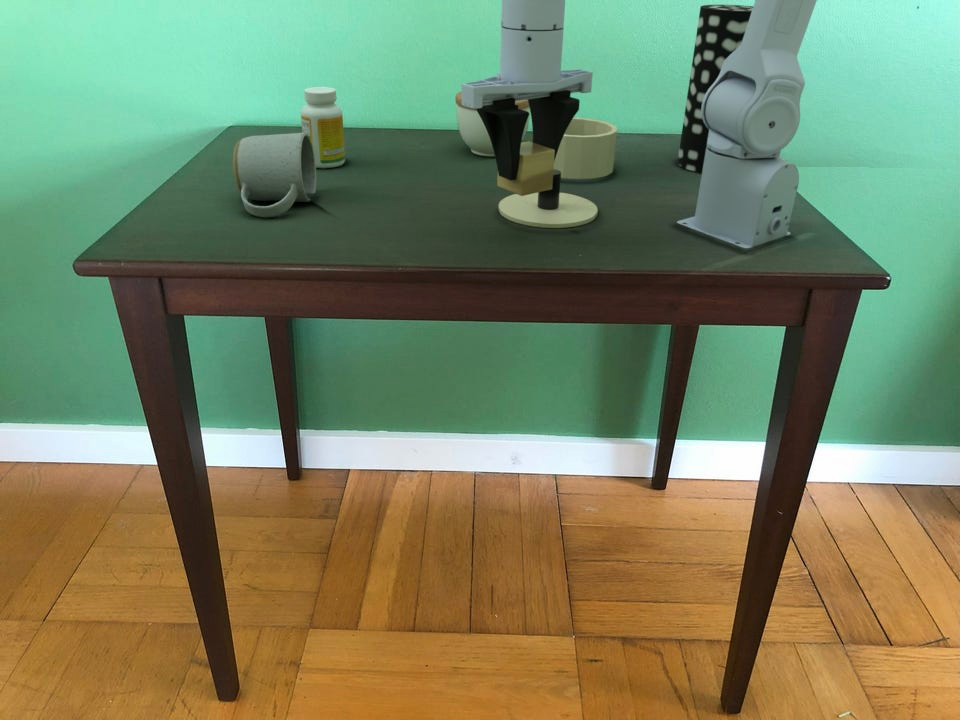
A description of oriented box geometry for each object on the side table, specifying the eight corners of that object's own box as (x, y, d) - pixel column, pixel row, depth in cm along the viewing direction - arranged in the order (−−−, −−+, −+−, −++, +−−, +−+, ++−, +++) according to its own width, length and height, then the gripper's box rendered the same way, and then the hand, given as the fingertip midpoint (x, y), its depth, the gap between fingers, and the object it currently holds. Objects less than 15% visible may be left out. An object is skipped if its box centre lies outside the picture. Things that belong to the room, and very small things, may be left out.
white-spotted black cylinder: (716, 177, 102) (745, 13, 92) (665, 163, 107) (687, 6, 97) (750, 166, 107) (781, 9, 97) (700, 154, 112) (724, 3, 102)
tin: (628, 174, 102) (633, 129, 99) (570, 187, 97) (574, 140, 94) (575, 156, 109) (578, 114, 106) (518, 168, 104) (520, 123, 101)
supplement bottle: (298, 167, 102) (291, 92, 97) (314, 156, 107) (308, 84, 102) (337, 170, 101) (331, 94, 96) (351, 159, 106) (346, 86, 101)
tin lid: (617, 220, 87) (622, 176, 84) (541, 240, 81) (544, 193, 78) (552, 194, 94) (554, 152, 92) (478, 211, 88) (479, 167, 86)
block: (552, 189, 77) (555, 149, 75) (521, 196, 75) (523, 155, 73) (527, 179, 80) (529, 140, 78) (496, 186, 78) (497, 146, 76)
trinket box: (523, 163, 106) (526, 93, 101) (447, 157, 107) (447, 88, 103) (534, 144, 115) (537, 78, 110) (464, 139, 117) (464, 74, 112)
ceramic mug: (251, 188, 94) (243, 124, 90) (319, 189, 94) (313, 125, 90) (228, 219, 85) (217, 150, 81) (302, 220, 85) (295, 151, 81)
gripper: (562, 18, 77) (553, 154, 84) (442, 27, 69) (443, 175, 76) (612, 26, 72) (599, 169, 79) (489, 36, 64) (486, 194, 71)
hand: (525, 173), depth 77 cm, fingers closed on block, 4 cm apart
